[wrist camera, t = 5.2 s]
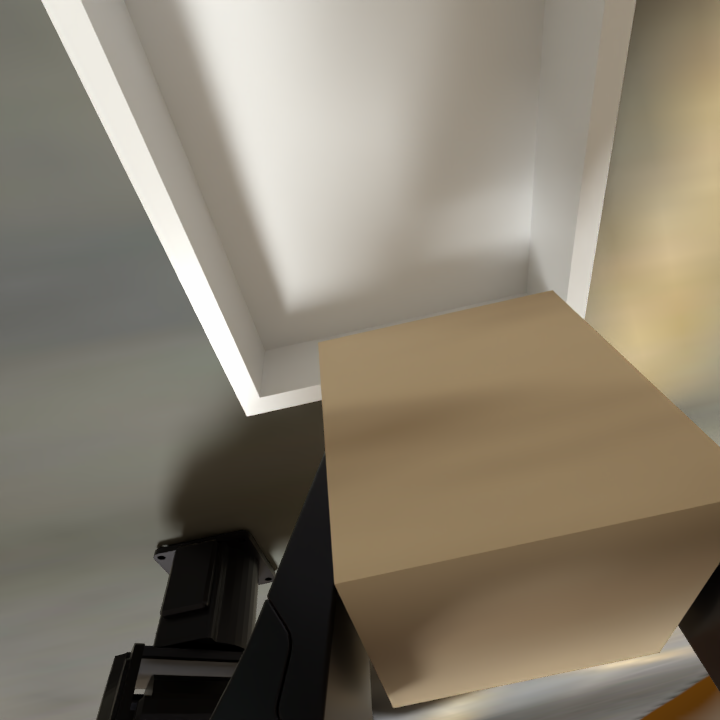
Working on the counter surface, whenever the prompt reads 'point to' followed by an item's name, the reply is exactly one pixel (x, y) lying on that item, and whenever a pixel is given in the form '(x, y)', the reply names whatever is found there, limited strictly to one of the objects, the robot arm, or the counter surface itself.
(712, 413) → the counter surface
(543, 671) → the cube
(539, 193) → the tote
